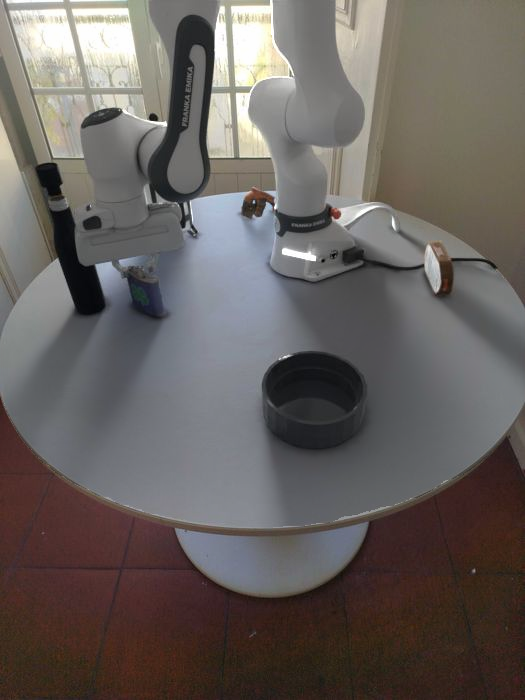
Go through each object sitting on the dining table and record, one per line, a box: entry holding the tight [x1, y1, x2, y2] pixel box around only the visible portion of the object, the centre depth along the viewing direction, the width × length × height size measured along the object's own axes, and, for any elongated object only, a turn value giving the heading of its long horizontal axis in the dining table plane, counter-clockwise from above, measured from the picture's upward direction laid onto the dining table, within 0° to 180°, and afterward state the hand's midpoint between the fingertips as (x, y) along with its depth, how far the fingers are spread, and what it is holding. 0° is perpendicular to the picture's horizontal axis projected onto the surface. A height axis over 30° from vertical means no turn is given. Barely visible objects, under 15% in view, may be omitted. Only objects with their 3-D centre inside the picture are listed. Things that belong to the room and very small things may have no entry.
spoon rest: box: [332, 201, 401, 232], centre depth 123 cm, size 24×12×7 cm, turn 93°
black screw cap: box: [261, 350, 368, 449], centre depth 75 cm, size 16×16×6 cm
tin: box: [423, 239, 455, 296], centre depth 102 cm, size 15×3×8 cm, turn 178°
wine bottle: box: [34, 162, 107, 316], centre depth 92 cm, size 6×6×30 cm
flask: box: [126, 265, 167, 319], centre depth 96 cm, size 9×3×11 cm, turn 52°
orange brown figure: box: [240, 186, 276, 220], centre depth 133 cm, size 12×10×8 cm
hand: (138, 274), depth 94 cm, fingers closed on flask, 4 cm apart
